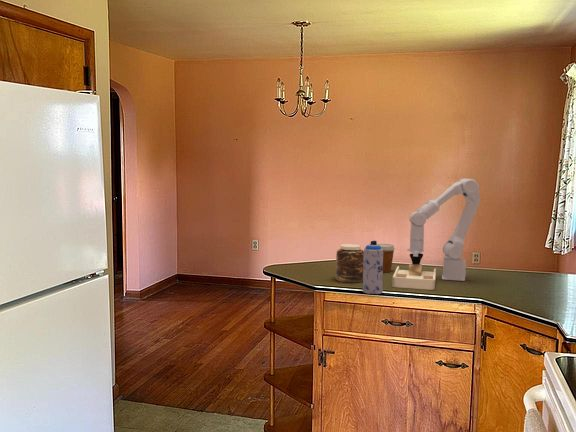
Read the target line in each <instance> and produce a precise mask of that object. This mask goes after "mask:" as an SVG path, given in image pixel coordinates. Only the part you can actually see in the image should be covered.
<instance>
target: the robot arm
mask: <svg viewBox="0 0 576 432" xmlns="http://www.w3.org/2000/svg"><path fill="white" fill-rule="evenodd" d="M480 189H481V188H480V185H479V184H478V182H477V181H476V180H475V179H473V178H465V177H462V178H460V179H459V180H458V181H456V182H454V183H453V184H452V185H451V186H449V187H448V188H447V189H446V190H445V191H444V192H442V193H441V194H440V195H439V196H438V197H437V198H435V199H430V200H426V201H425V203H424V204H423V205H422V206H421V207H420V208H419V207H418V208H417V209H416V211H414V212H411V214H410V216H409V221H410V229H409V230H410V231H409V232H410V233H409V234H410V235H409V236H410V237H409V238H410V239H409V248H407V249H406V251H407V252H410V253H409V257H410V260H411V264H421V261H422V259H423V257H424V252H425V250H424V243H425V241H424V238H425V224H426V222H427V220H429V219H430V218H431V217H432V216H434V215H435V214H436V213H437V212H438V211H439V212H440V207H441V206H442V205H443V204H445V203H446V202H447V201H448V200H450V199H451V198H453V197H455V195H456V196H457V195H463V198H464V199H465V201H466V202H465V205H464V208H463V210H462V211H461V214H460V217H459V219H458V220H457V223H456V225H455V228H454V230H453V233H452V235H450V237H449V238H448V240H447V242H445V243H444V244H443V246H442V252H443V254H444V255H443V263H442V264H443V266H442V267H443V269H442V275H441V280H444V281H445V280H446V281H447V280H448V281H461V282H465V281H466V276H467V272H466V267H467V266H466V263H467V262H466V261H467V260H466V259H465V258H462V256H463V252H464V246H465V238H466V236H467V233H468V231H469V229H470V227H471V224H472V222H473V220H474V218H475V215H476V213H477V211H478V208H479V206H480V204H481V196H480V195H481V194H480Z"/></svg>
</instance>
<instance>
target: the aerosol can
mask: <svg viewBox="0 0 576 432" xmlns="http://www.w3.org/2000/svg"><path fill="white" fill-rule="evenodd" d="M363 251H364V264H363V281H362V290H361V291H362V292H363V293H365V294H368V295H369V294H370V295H379V294H382V293H383V292H384V290H383V277H384V276H383V275H384V274H383V273H384V272H383V249H382V248H381V246H379V245H378V244H377V240H372V241H370V243H369V244H367V245H366V246H365V247H364V248H363Z"/></svg>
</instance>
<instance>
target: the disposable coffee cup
mask: <svg viewBox="0 0 576 432" xmlns="http://www.w3.org/2000/svg"><path fill="white" fill-rule="evenodd" d="M378 245H379V246H381V248H382V249H383V273H389V272H391V271H392V265H393V257H394V251H395V249H396V248H395V245H394V244H388V243H379V244H378Z"/></svg>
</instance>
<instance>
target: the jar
mask: <svg viewBox="0 0 576 432" xmlns="http://www.w3.org/2000/svg"><path fill="white" fill-rule="evenodd" d="M335 258H336V259H335V280H336V281H338V282H341V283H349V284H350V283H363V264H364V249H362V248H361V245H360V244H356V243H355V244H354V243H343V244H340V248H339V249H337V250H336V257H335Z"/></svg>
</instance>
